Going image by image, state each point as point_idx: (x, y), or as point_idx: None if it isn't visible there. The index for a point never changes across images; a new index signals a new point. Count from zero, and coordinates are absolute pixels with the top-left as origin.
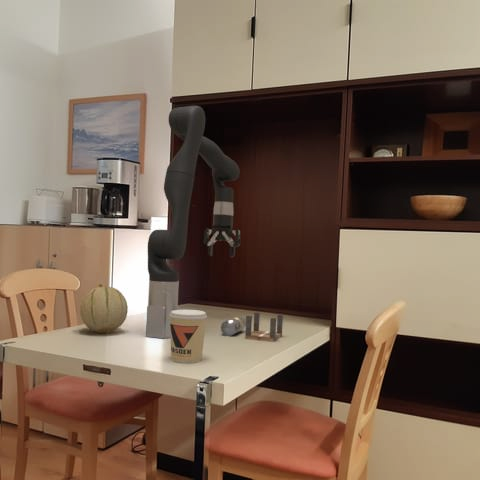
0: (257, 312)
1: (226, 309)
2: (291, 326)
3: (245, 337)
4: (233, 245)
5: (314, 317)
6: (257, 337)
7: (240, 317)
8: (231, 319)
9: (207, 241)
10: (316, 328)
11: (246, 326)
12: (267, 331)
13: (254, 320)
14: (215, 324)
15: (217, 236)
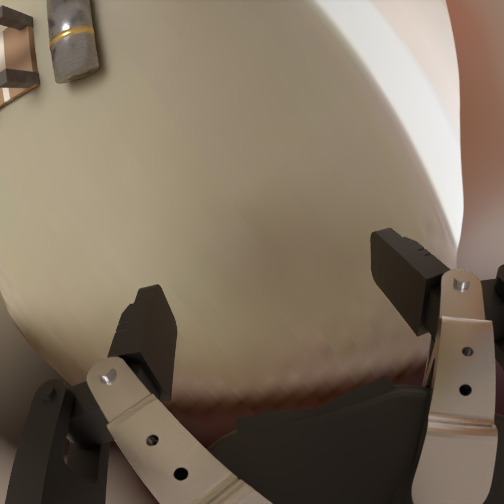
0: (2, 83)
1: (331, 360)
2: (45, 261)
3: (29, 16)
4: (91, 376)
5: None
6: (5, 30)
7: (58, 62)
8: (59, 8)
9: (501, 333)
10: (7, 280)
11: (15, 12)
12: (8, 97)
13: (17, 70)
14: (201, 108)
15: (415, 432)
